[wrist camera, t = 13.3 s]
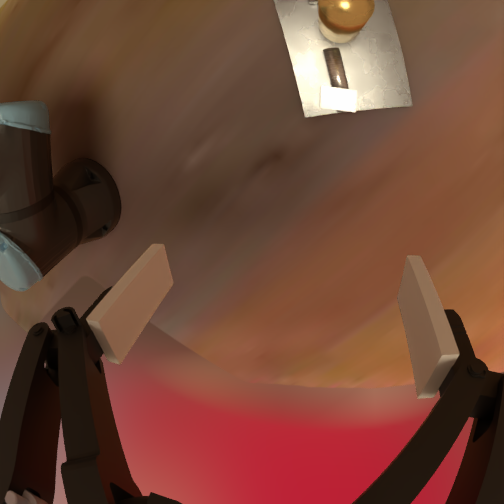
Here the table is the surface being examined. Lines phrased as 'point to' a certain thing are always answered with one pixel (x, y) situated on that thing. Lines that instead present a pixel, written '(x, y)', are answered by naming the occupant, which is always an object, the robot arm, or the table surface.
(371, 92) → the bed plate
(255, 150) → the table surface
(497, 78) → the table surface
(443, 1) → the table surface
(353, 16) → the orange glossy cylinder
